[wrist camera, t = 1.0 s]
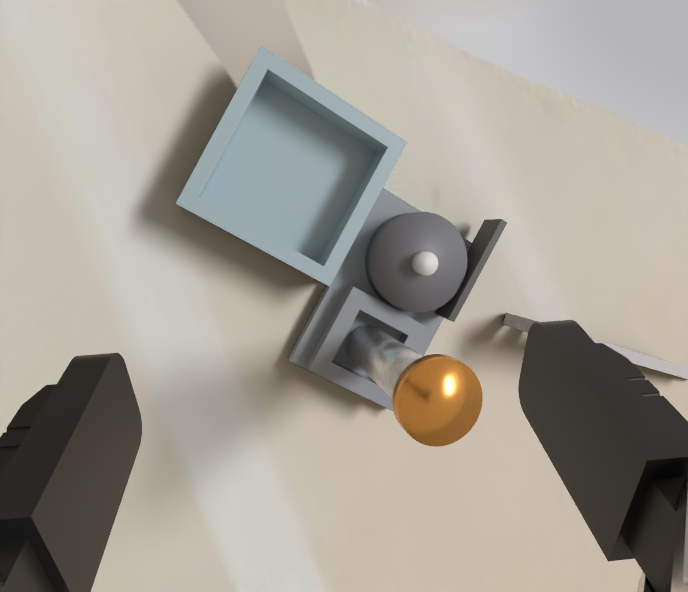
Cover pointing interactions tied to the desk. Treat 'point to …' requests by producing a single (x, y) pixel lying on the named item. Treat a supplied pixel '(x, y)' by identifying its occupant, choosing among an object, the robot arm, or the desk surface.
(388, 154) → the tray
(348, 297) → the plate
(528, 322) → the caliper
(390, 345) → the pin
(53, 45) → the desk surface
